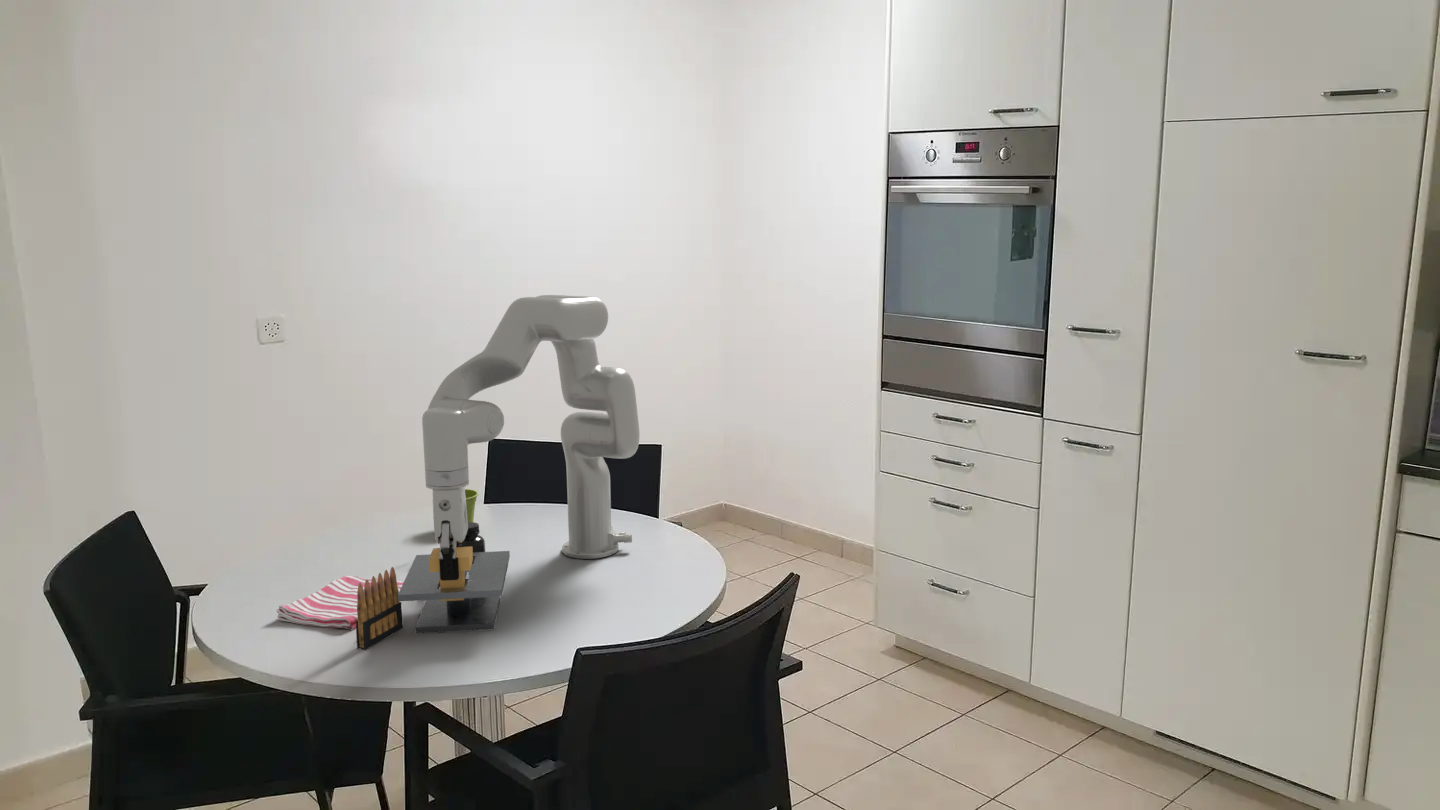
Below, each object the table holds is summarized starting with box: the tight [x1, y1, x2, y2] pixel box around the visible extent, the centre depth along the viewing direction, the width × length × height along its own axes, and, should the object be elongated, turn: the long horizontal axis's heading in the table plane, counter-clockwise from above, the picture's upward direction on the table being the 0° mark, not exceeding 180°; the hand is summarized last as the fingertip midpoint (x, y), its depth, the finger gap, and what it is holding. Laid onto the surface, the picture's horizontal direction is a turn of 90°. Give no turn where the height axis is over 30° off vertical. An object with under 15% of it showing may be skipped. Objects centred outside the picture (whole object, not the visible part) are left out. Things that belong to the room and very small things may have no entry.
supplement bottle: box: [458, 521, 486, 564], centre depth 220 cm, size 7×7×12 cm
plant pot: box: [465, 488, 479, 522], centre depth 255 cm, size 9×9×9 cm
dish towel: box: [276, 575, 404, 631], centre depth 208 cm, size 17×23×4 cm
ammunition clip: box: [355, 566, 404, 651], centre depth 191 cm, size 11×2×12 cm, turn 159°
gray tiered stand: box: [398, 550, 511, 635], centre depth 200 cm, size 18×22×10 cm
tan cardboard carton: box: [429, 547, 473, 601], centre depth 193 cm, size 7×6×8 cm
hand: (452, 572), depth 193 cm, fingers closed on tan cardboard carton, 6 cm apart
